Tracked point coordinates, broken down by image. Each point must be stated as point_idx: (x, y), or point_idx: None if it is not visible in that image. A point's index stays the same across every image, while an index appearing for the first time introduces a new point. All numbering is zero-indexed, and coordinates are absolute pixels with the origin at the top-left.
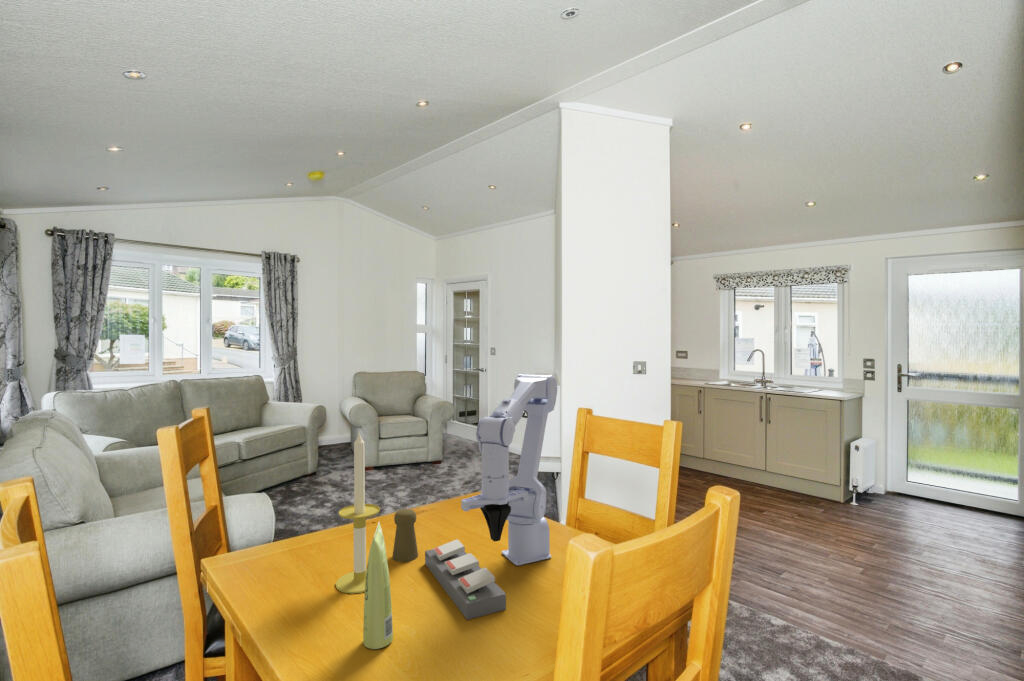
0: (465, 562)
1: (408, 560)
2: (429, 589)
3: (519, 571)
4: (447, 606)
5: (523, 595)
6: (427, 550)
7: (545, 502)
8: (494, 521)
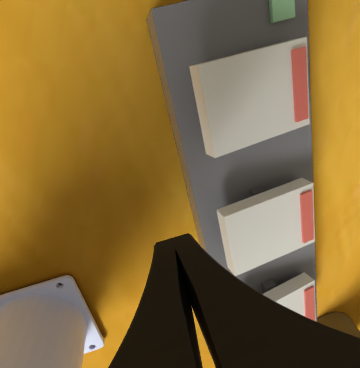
0: (264, 220)
1: (328, 315)
2: (321, 187)
3: (65, 246)
4: None
5: (71, 98)
6: None
7: None
8: (249, 309)
